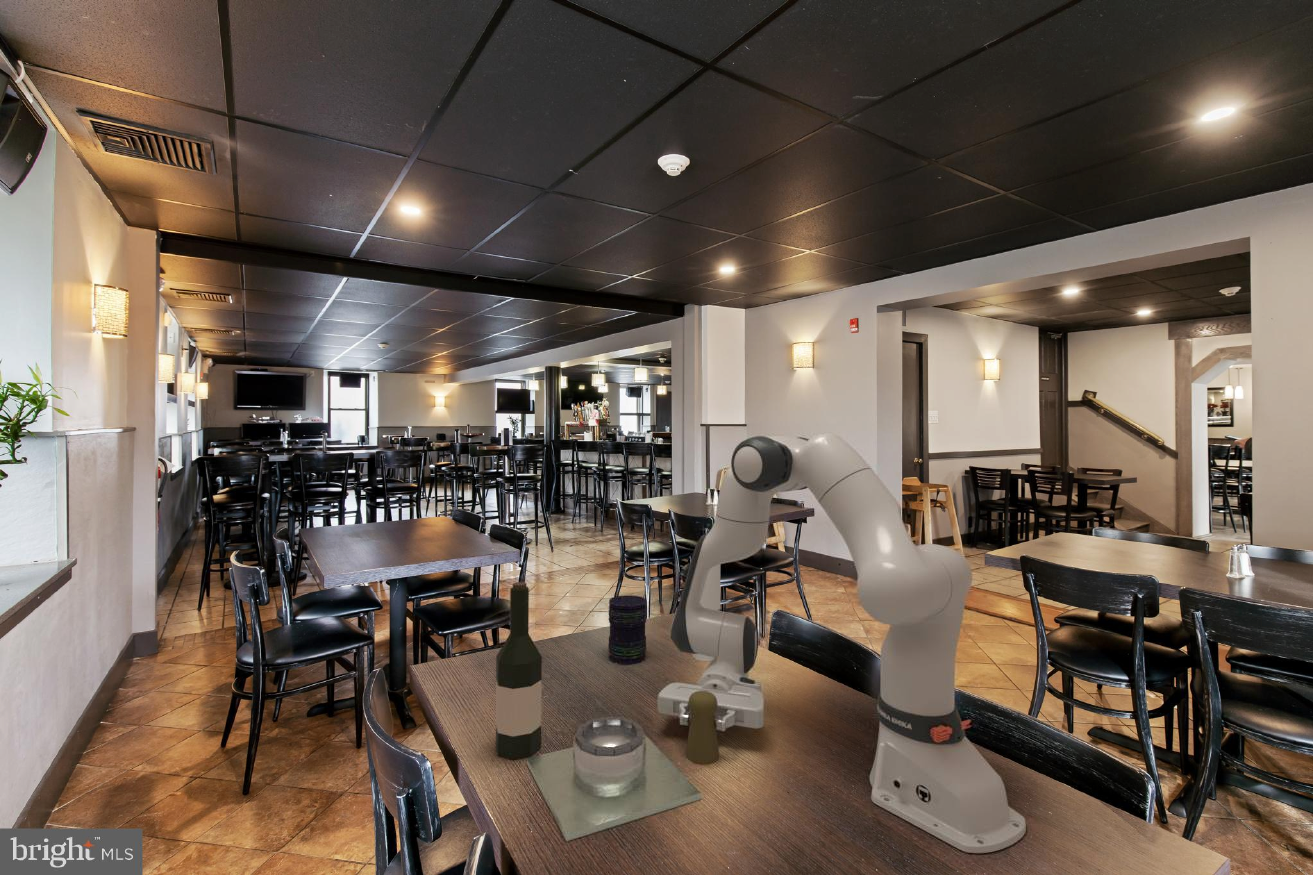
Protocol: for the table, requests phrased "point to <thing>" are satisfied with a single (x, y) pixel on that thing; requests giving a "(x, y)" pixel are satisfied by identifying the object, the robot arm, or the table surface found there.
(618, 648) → the storage jar
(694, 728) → the cork
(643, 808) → the duct stub
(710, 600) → the cylindrical container
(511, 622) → the wine bottle
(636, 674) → the table surface
